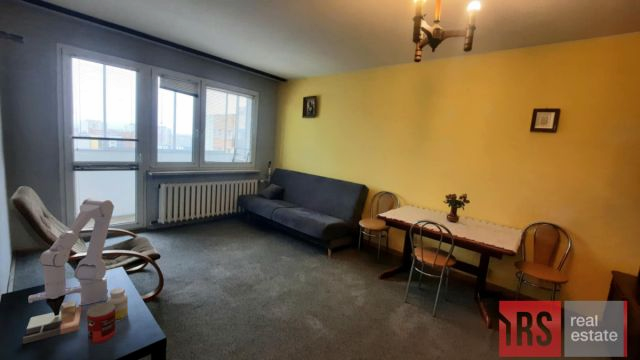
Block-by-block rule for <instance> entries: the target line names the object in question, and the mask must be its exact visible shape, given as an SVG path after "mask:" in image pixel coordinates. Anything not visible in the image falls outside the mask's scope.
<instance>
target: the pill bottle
mask: <svg viewBox="0 0 640 360" xmlns="http://www.w3.org/2000/svg"><path fill="white" fill-rule="evenodd" d="M125 292H126V290H125V288H124V287H116V288H113V289H111V290H110V292H109V295H110V296H109V297H108V298H107V303H112V304H114V305H115V323H117V322H120V321H122V320H124V319H126V317H127V316H128V314H129V307H128V305H129V304H128V303H129V301H128V300H129V299H128V294H126V293H125Z"/></svg>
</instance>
